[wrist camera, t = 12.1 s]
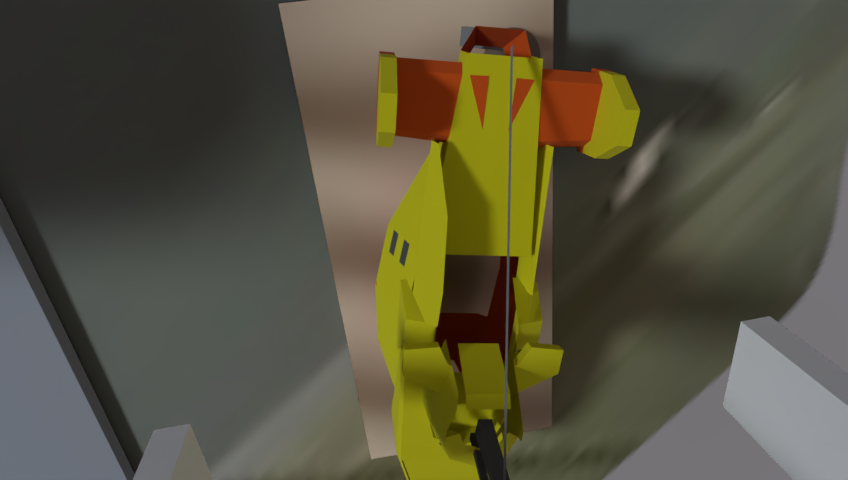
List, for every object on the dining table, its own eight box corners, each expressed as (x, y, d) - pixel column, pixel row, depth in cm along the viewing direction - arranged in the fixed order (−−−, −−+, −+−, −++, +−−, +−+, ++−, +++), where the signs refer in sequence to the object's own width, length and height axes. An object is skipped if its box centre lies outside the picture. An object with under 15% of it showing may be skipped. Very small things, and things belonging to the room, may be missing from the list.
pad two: (280, 4, 16) (277, 3, 16) (547, -26, 17) (555, -28, 16) (370, 449, 25) (371, 460, 24) (547, 418, 25) (552, 428, 25)
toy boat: (565, 33, 17) (789, 55, 8) (493, 432, 24) (569, 679, 15) (377, 16, 16) (392, 20, 7) (361, 434, 24) (358, 697, 15)
